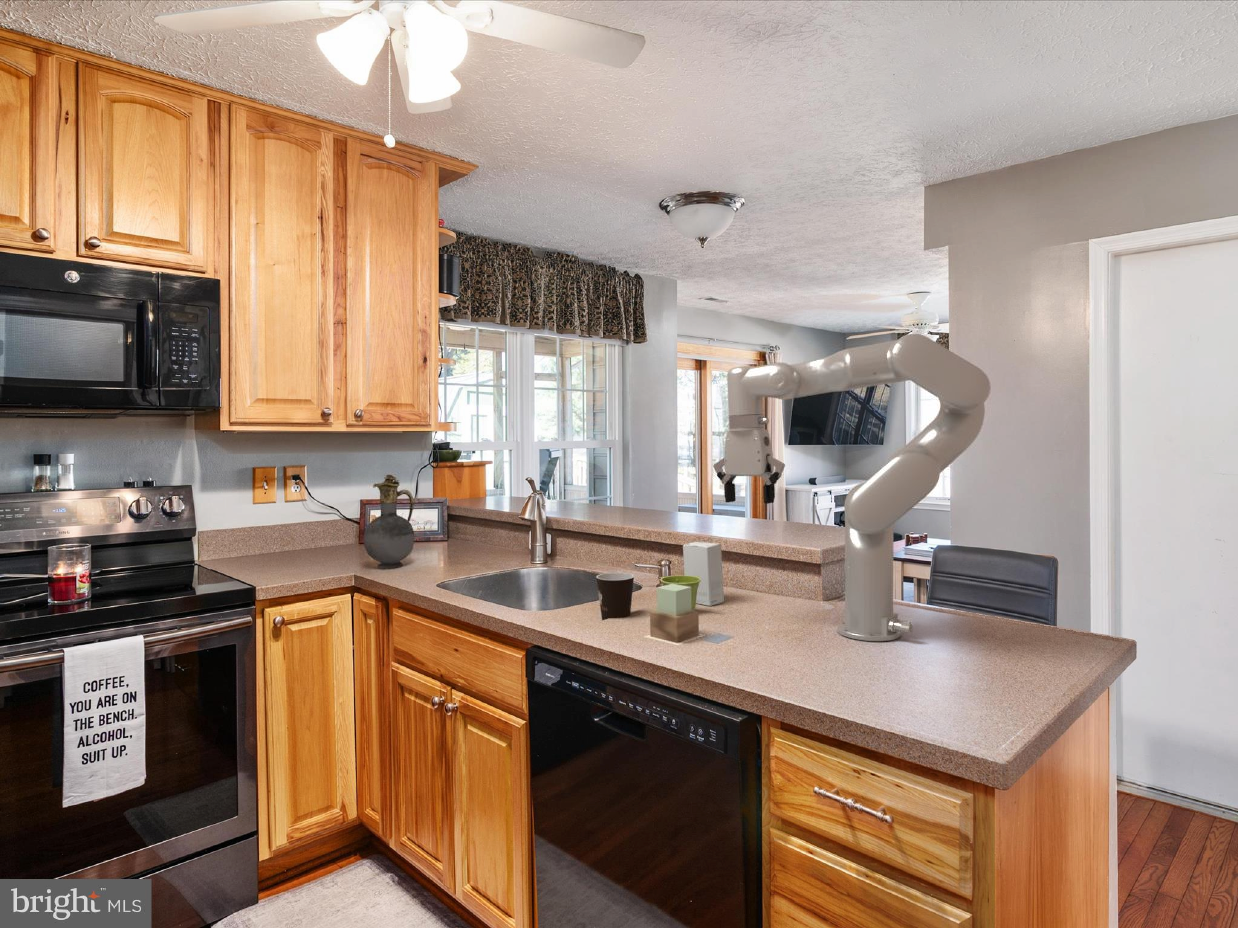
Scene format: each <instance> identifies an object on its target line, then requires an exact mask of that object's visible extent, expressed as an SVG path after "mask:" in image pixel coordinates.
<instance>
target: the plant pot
mask: <svg viewBox="0 0 1238 928" xmlns="http://www.w3.org/2000/svg"><path fill="white" fill-rule="evenodd" d="M700 581H701V579H700V578H699V577H695V576H688V575H683V574H682V575H679V574H678V575H677V574H676V575H669V576H663V577H661V578H660V583H662V586H666V585H669V584H677V585H682V586H688V587H691V600H692V610H695V611H696V606H697V603H696V597H697V589H698V587H699V582H700Z"/></svg>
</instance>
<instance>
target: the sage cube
mask: <svg viewBox="0 0 1238 928" xmlns="http://www.w3.org/2000/svg"><path fill="white" fill-rule="evenodd" d="M656 610H657V612H659V613H664V614H668V615H673V616H678V615H682V614H685V613H688V612H691V611H692V600H691V587H688V586H682V585H677V584H669V585H666V586H663V585H662V586H659V587H656Z"/></svg>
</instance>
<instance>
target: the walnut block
mask: <svg viewBox="0 0 1238 928" xmlns="http://www.w3.org/2000/svg"><path fill="white" fill-rule="evenodd" d="M649 614H650V615H649V631H650V632H649V633H650V634H649V635H650V637H654V638H658V639H662V640H666V641H671V642H675V643H679V642H682V641H685V640H687V639H690V638H693V637H696V636H699V634H700V630H699V629H700V625H699V623H700V621H699V614H700V613H699V610H696V609H695V610H692V611H691V612H688V613H685V614H682V615H678V616H673V615H668V614H664V613H659V612H657V609H656V610H653V611H650V612H649Z"/></svg>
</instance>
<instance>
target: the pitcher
mask: <svg viewBox="0 0 1238 928" xmlns="http://www.w3.org/2000/svg"><path fill="white" fill-rule="evenodd" d="M383 479H384V481H383V482H379V483H373V484H372V487H373V488H374V489H375V488H377V489H378V491H379V503H380V515H379V516H377V517H376V518H374V519H372V520H371V521H370V522H369V523H368V524H367V526H366V528H365V531H364V534H363V546H364V550H365V551H366V554H367V555H368V556H369V557H370V558H372V560H375V561H376V562H379V564H377V568H378V569H379V568H380V569H381V570H391V569H399V568H402V566H404V565H403V563H402V562H401V561H403V560H404V559H405V558H407V557H408V556H409V555H410V554H411V553H412V551H413V549H414V544H415V532H414V528H413V526H412V524H411V522H410V521H411V519H412V515H413V511H414V506H415V505H414V504H415V501H414V500H415V499H414V497H413V495H412V492H411V491H410V490H409V489H402V490H401V489H400V490H399V491H398V487H399V486H400V482H399V481H400V480H399V479H397V477H396V476H393V474H386V475H385V476H384V477H383ZM402 495H406V496H407V497H408V499H409V502H410V503H409V513H408V517H407V519H406V518H405V517H403V516H400V515H398V514H397V513H398V512H397V502H398V498H399V497H400V496H402Z"/></svg>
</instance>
